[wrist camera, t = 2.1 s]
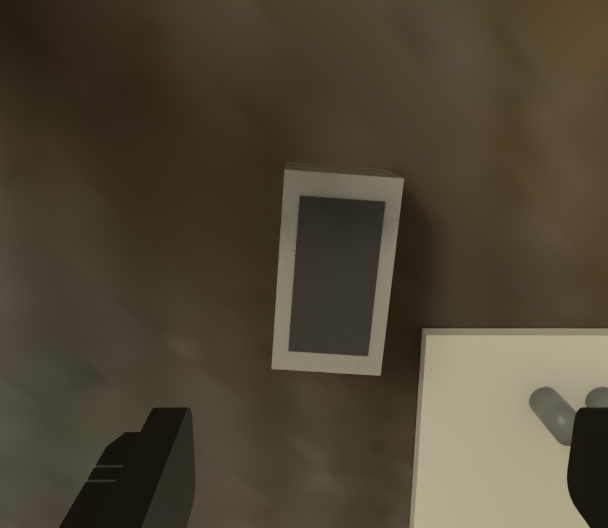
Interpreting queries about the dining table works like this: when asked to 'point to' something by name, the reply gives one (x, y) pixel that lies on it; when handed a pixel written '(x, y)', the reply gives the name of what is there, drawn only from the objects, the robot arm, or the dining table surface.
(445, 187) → the dining table surface
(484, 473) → the pin tray
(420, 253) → the dining table surface
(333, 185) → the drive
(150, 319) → the dining table surface
